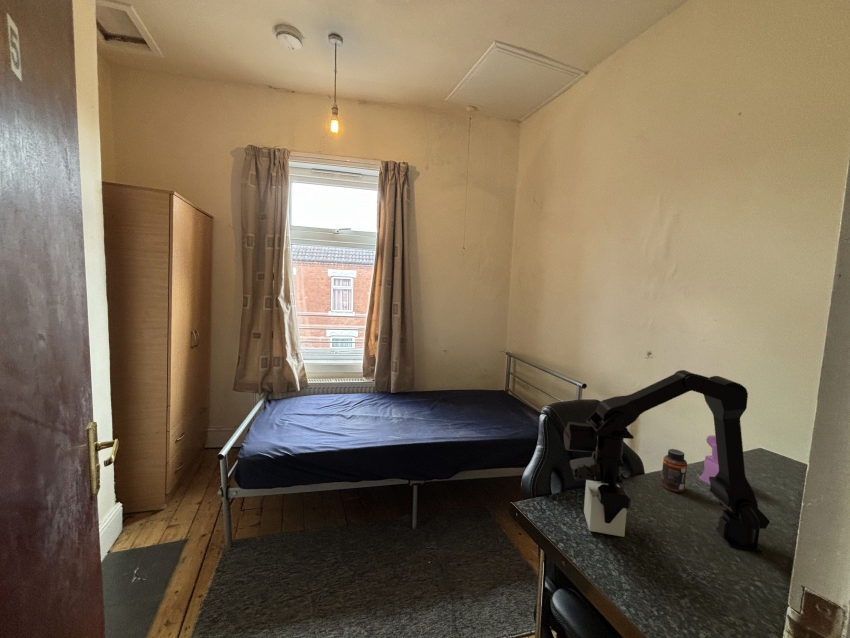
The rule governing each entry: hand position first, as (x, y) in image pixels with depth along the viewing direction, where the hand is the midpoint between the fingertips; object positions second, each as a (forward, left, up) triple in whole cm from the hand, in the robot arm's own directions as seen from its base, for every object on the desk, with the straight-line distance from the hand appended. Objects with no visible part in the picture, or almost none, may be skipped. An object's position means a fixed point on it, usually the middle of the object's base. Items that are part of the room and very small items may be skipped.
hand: (603, 512), depth 91 cm
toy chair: (-41, -34, -4) cm, 53 cm away
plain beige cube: (0, 0, -3) cm, 3 cm away
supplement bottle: (-25, -26, -4) cm, 36 cm away
